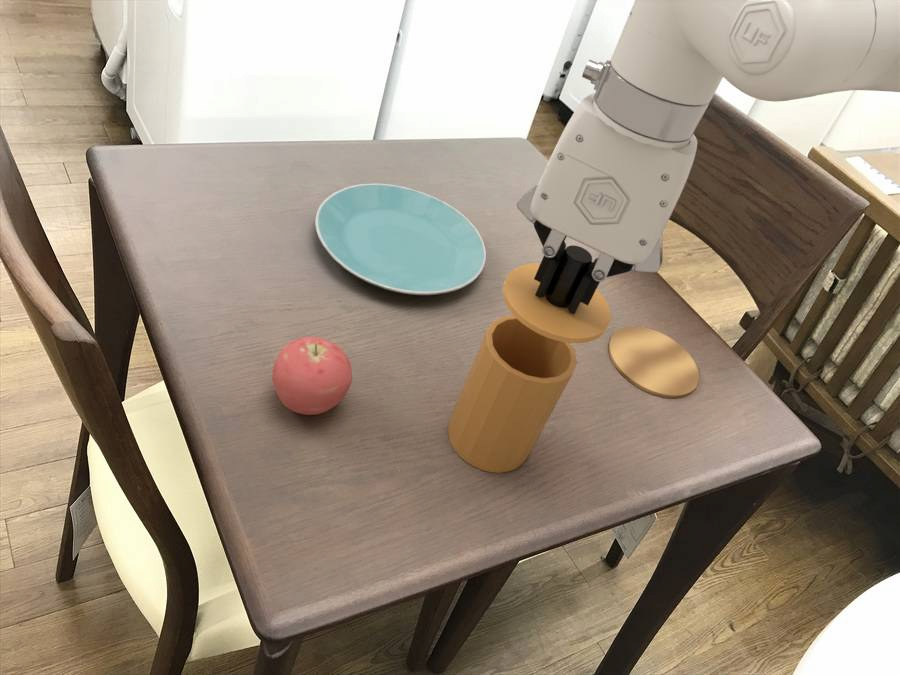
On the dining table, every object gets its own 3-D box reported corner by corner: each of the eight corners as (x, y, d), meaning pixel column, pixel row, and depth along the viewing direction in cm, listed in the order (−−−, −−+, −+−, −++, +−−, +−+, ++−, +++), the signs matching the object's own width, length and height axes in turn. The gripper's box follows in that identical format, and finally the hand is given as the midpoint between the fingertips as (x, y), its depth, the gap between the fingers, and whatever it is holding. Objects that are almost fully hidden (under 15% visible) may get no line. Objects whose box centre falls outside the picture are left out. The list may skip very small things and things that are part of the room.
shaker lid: (625, 323, 69) (655, 270, 65) (563, 364, 62) (591, 307, 58) (544, 262, 73) (568, 208, 69) (477, 294, 66) (499, 236, 62)
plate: (491, 320, 94) (498, 303, 92) (308, 294, 88) (312, 275, 86) (470, 215, 110) (475, 199, 108) (314, 188, 104) (317, 170, 102)
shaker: (544, 447, 81) (594, 359, 72) (491, 487, 75) (538, 396, 66) (485, 394, 84) (525, 303, 76) (430, 428, 79) (467, 334, 70)
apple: (252, 397, 75) (260, 339, 70) (305, 364, 80) (317, 308, 75) (305, 443, 73) (318, 387, 68) (357, 406, 78) (373, 351, 73)
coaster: (713, 374, 98) (715, 371, 98) (667, 412, 90) (669, 410, 90) (639, 317, 103) (641, 314, 102) (590, 350, 95) (591, 347, 95)
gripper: (531, 73, 53) (460, 277, 65) (749, 169, 51) (634, 363, 63) (562, 46, 59) (491, 238, 71) (759, 132, 56) (652, 316, 68)
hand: (559, 295), depth 67 cm, fingers closed on shaker lid, 2 cm apart
